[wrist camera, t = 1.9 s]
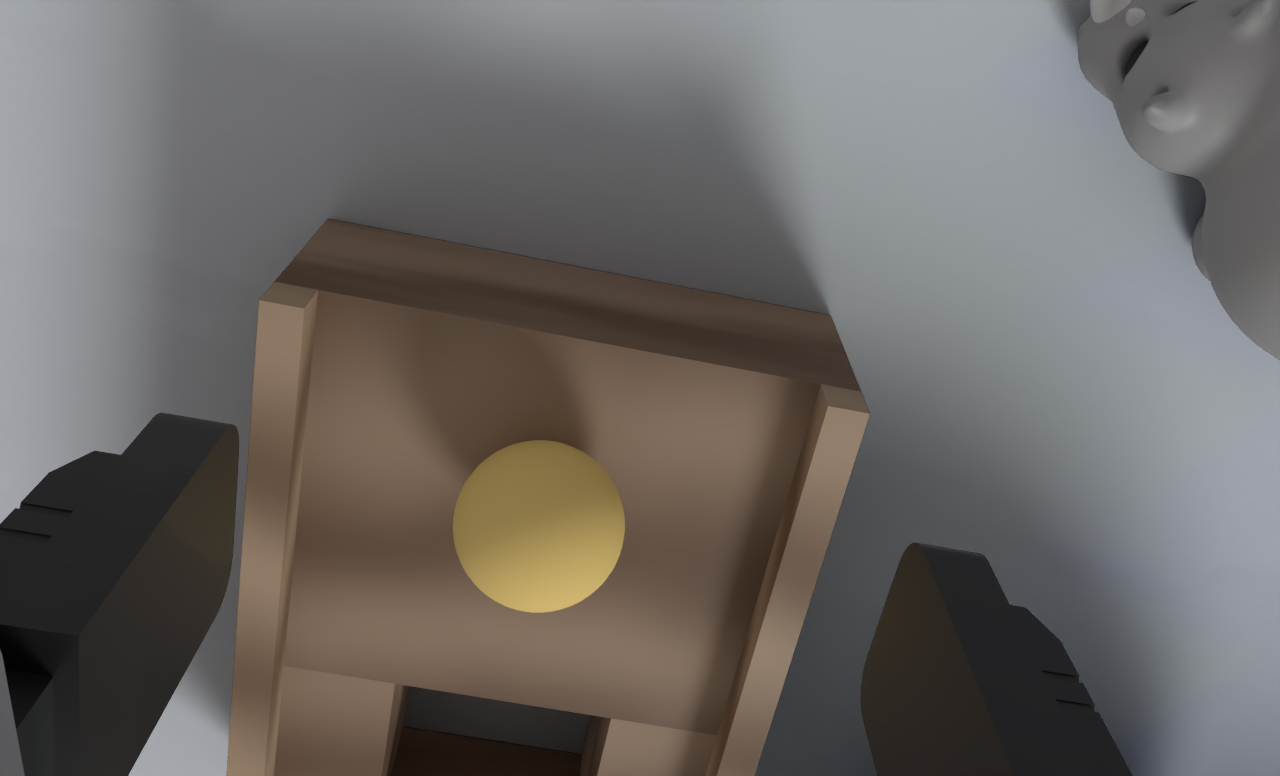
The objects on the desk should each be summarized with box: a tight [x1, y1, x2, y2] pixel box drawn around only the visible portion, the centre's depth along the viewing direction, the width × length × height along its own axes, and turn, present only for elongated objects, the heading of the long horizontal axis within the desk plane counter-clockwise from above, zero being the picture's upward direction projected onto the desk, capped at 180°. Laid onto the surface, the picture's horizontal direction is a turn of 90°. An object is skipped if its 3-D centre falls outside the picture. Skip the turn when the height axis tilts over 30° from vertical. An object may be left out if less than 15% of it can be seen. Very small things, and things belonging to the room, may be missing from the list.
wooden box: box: [226, 219, 870, 776], centre depth 33 cm, size 20×14×6 cm
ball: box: [453, 440, 625, 613], centre depth 27 cm, size 4×4×4 cm
